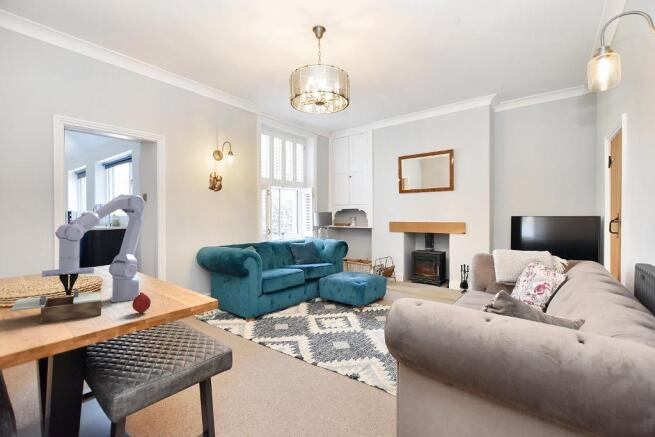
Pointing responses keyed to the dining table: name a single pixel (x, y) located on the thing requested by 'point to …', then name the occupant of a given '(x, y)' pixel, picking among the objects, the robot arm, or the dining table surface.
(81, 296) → the inner panel
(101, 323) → the dining table surface
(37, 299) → the outer panel
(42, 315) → the box
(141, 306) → the onion
